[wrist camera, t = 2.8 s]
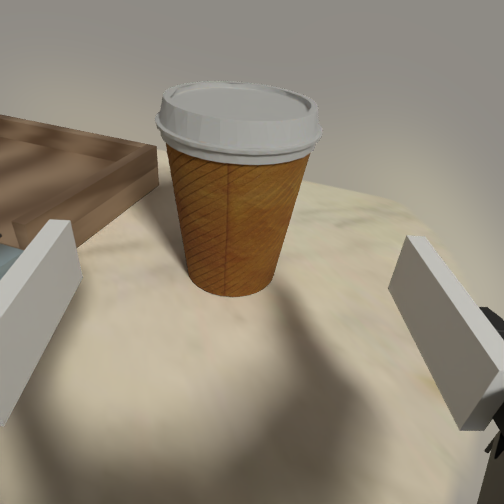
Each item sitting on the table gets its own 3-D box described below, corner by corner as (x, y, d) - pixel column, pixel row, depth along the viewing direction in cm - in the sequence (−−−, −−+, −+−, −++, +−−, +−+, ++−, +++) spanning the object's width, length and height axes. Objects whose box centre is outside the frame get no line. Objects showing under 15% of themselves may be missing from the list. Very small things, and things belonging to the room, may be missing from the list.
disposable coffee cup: (216, 222, 34) (221, 73, 27) (316, 262, 30) (351, 100, 23) (135, 276, 27) (114, 94, 20) (252, 337, 23) (274, 139, 16)
